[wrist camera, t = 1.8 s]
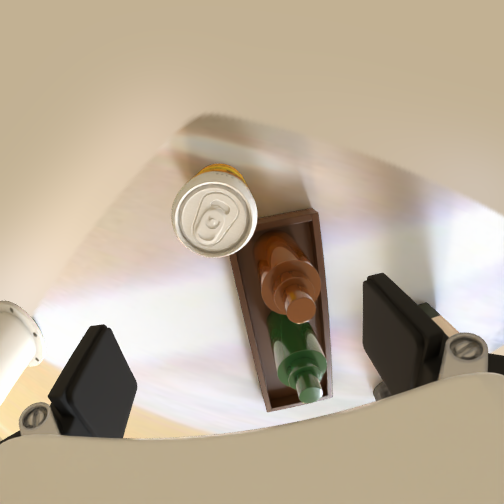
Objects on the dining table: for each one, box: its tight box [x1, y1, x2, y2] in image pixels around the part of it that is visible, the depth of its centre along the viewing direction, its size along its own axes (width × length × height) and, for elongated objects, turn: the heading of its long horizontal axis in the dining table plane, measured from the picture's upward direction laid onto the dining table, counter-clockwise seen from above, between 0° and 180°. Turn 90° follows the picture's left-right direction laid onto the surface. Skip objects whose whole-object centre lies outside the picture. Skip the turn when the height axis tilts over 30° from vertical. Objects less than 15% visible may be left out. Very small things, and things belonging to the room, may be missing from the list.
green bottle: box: [266, 311, 327, 403], centre depth 34 cm, size 6×6×14 cm
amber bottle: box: [252, 230, 321, 324], centre depth 30 cm, size 6×6×14 cm
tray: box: [229, 208, 333, 412], centre depth 40 cm, size 11×30×3 cm, turn 11°
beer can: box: [171, 164, 257, 258], centre depth 27 cm, size 6×6×15 cm
